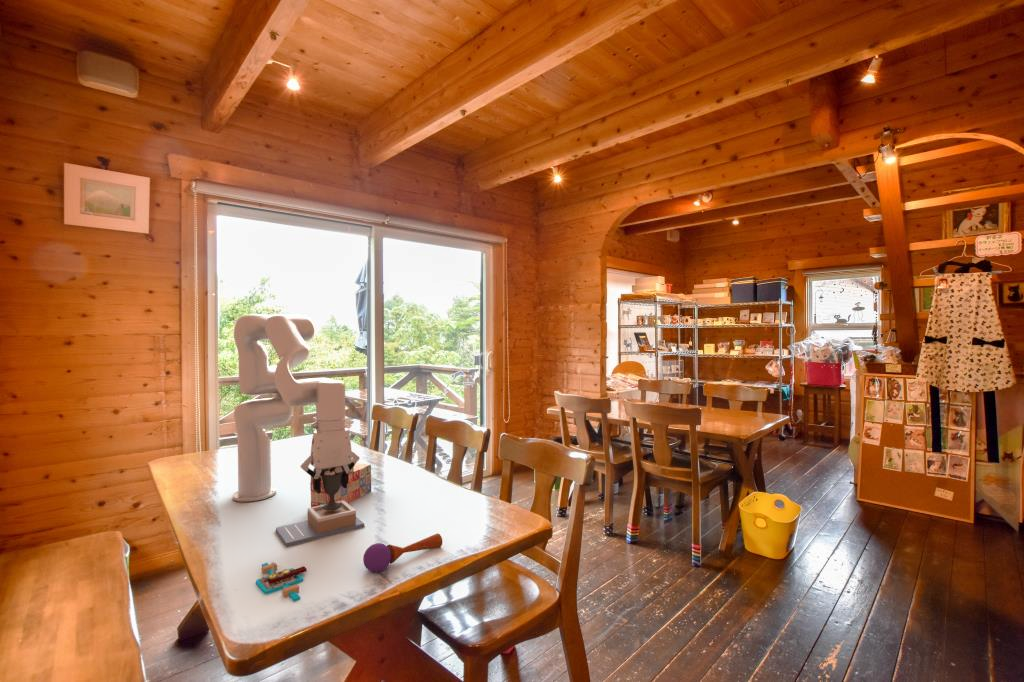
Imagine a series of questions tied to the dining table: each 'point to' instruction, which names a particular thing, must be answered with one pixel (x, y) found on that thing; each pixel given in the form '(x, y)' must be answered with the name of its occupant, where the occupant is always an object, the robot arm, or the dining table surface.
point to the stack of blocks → (355, 488)
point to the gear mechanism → (276, 578)
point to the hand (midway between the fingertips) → (331, 488)
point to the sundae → (331, 485)
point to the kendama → (395, 552)
